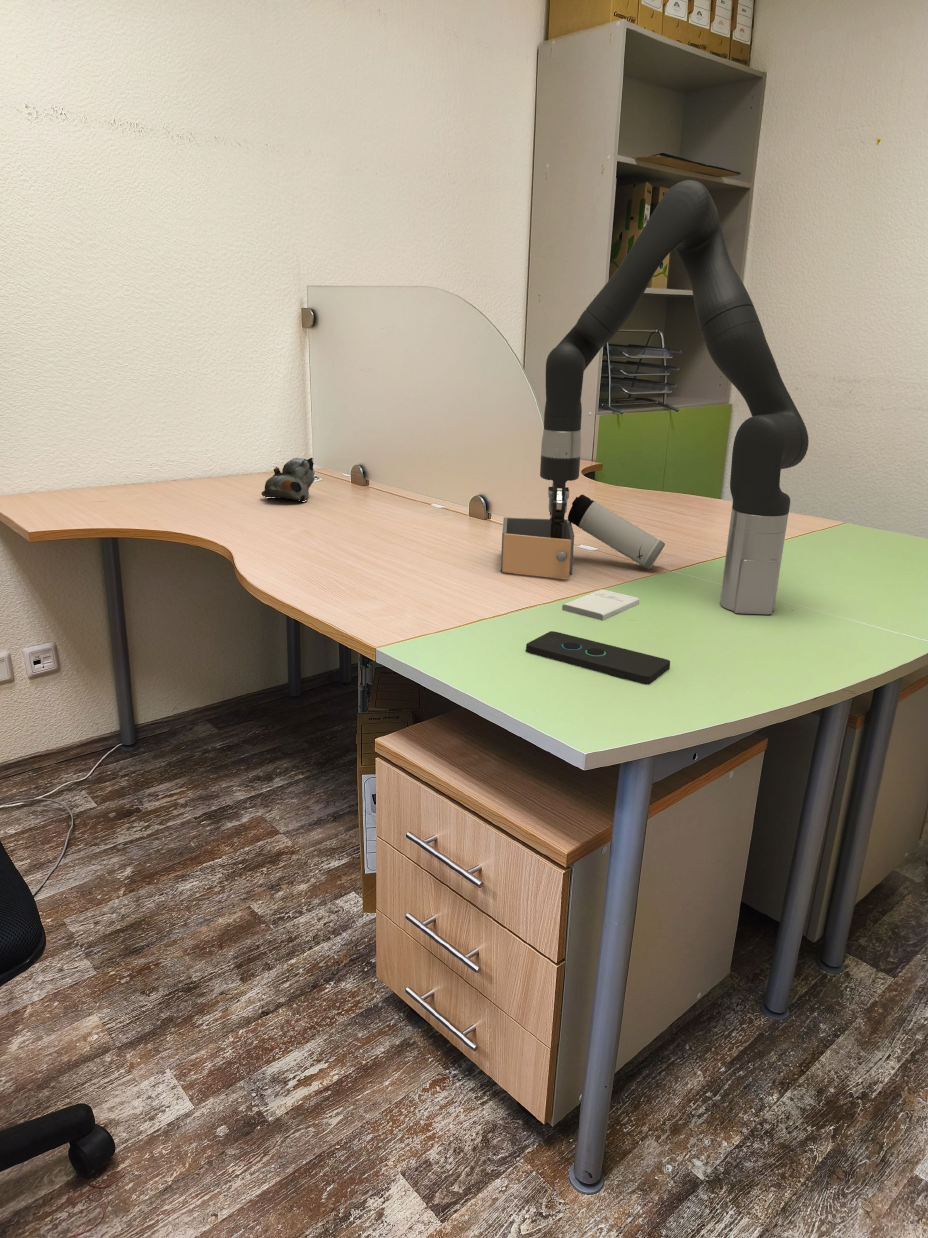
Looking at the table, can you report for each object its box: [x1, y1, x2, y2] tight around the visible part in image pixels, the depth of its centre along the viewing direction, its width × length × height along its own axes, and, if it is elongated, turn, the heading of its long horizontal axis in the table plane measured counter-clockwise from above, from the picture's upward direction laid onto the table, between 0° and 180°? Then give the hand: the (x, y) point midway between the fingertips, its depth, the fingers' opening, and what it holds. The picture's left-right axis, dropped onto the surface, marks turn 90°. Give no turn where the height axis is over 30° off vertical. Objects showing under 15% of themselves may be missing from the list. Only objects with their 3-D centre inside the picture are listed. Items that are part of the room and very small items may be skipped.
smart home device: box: [525, 630, 671, 685], centre depth 123 cm, size 8×2×20 cm
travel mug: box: [567, 494, 666, 570], centre depth 170 cm, size 6×7×20 cm
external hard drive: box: [561, 588, 640, 621], centre depth 146 cm, size 2×8×12 cm
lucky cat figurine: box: [260, 457, 316, 501], centre depth 227 cm, size 15×12×14 cm
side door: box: [501, 533, 572, 580], centre depth 161 cm, size 2×13×8 cm, turn 71°
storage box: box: [500, 517, 575, 576], centre depth 170 cm, size 14×14×8 cm
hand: (555, 541), depth 165 cm, fingers closed
